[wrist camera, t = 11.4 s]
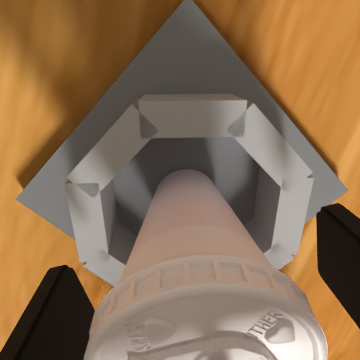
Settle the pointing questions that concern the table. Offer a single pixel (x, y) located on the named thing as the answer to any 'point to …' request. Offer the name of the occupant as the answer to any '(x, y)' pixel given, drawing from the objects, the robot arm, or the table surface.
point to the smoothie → (201, 289)
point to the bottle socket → (182, 150)
